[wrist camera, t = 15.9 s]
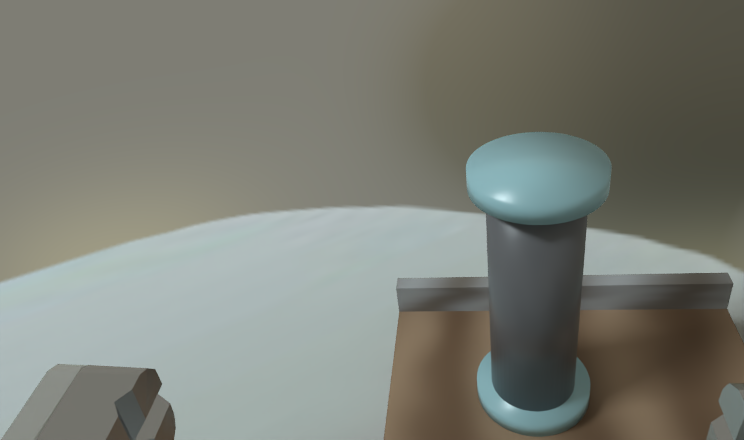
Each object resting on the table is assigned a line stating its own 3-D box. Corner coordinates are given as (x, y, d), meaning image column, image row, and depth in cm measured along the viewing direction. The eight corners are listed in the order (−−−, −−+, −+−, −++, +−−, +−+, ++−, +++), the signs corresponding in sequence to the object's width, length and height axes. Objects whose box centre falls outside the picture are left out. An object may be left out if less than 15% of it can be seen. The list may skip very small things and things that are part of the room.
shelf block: (386, 536, 34) (372, 468, 31) (406, 343, 45) (397, 278, 42) (800, 557, 31) (836, 482, 27) (710, 343, 42) (727, 272, 39)
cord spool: (478, 435, 34) (465, 207, 26) (477, 350, 39) (466, 135, 30) (597, 438, 33) (624, 201, 25) (581, 350, 38) (598, 128, 29)
